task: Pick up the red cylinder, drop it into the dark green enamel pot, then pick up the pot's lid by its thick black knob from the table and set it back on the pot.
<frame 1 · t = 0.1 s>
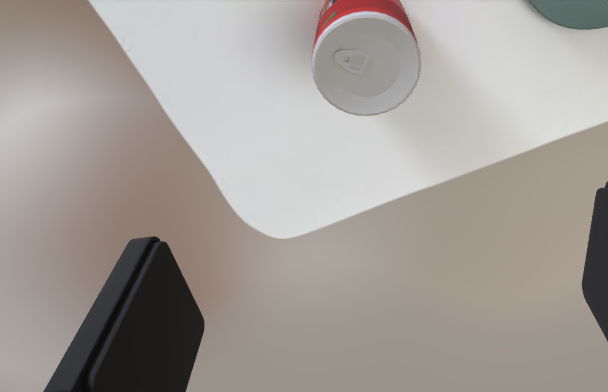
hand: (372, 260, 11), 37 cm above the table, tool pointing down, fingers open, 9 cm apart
canned food: (362, 24, 44), on the table
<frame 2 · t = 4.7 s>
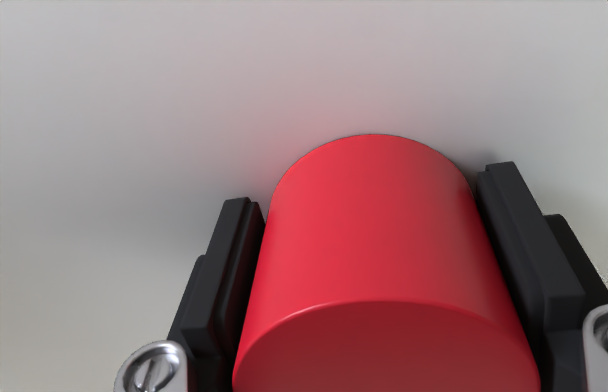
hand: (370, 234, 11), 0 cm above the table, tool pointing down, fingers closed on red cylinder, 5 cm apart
red cylinder: (369, 223, 12), on the table, touching gripper
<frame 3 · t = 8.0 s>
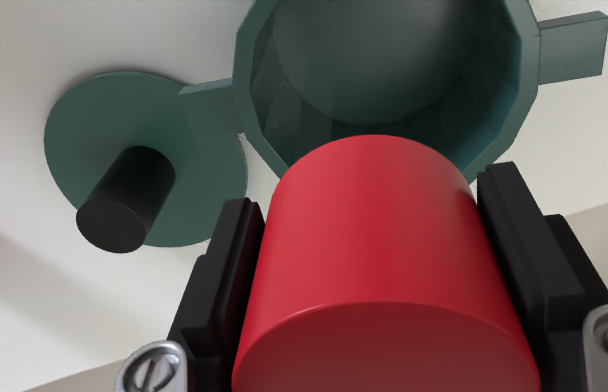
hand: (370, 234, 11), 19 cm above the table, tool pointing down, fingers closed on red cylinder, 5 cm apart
lid: (149, 166, 33), point 1 cm above the table
red cylinder: (369, 223, 12), point 18 cm above the table, touching gripper
pot: (371, 32, 27), on the table
when the fingers open (7 cm above the table, at t = 11.9 s): red cylinder stays where it is, resting on pot.
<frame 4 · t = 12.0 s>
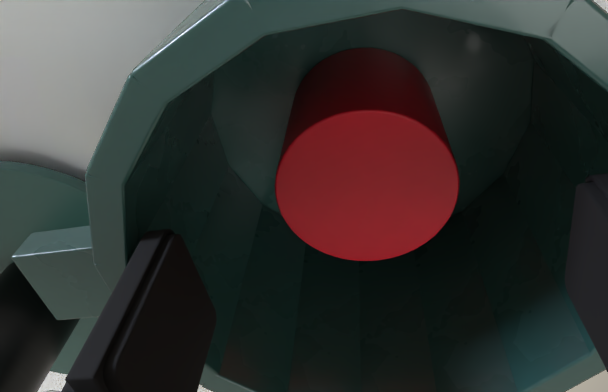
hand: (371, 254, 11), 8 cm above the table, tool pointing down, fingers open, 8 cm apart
lid: (52, 281, 23), point 1 cm above the table
red cylinder: (362, 117, 17), resting on pot
pot: (366, 111, 17), on the table
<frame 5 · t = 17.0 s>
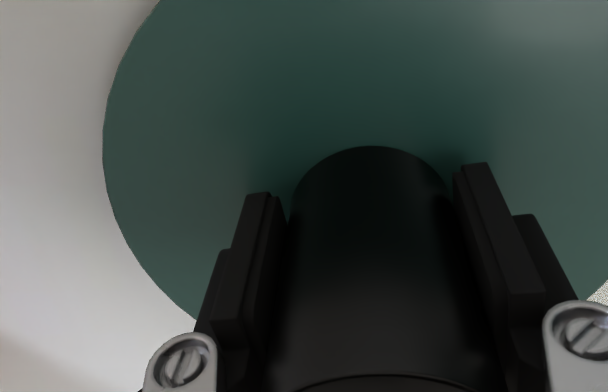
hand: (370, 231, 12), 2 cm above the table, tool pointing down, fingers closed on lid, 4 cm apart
lid: (368, 200, 13), point 1 cm above the table, touching gripper
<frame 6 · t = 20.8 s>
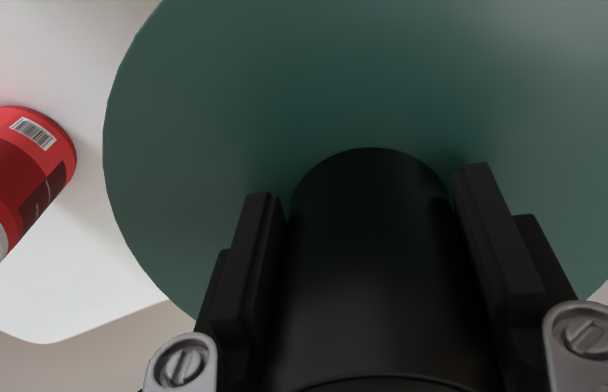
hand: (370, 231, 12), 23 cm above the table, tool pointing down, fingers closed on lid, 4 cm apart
canned food: (32, 144, 39), on the table
lid: (367, 201, 13), point 22 cm above the table, touching gripper
when the fingers open (10 cm above the table, at t = 25.1 s): lid stays where it is, resting on pot.
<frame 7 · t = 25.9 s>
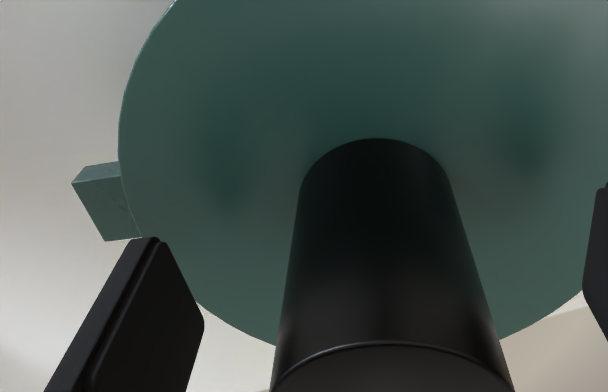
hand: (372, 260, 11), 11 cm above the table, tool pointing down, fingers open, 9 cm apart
lid: (372, 191, 13), point 8 cm above the table, touching pot
pot: (363, 75, 20), on the table
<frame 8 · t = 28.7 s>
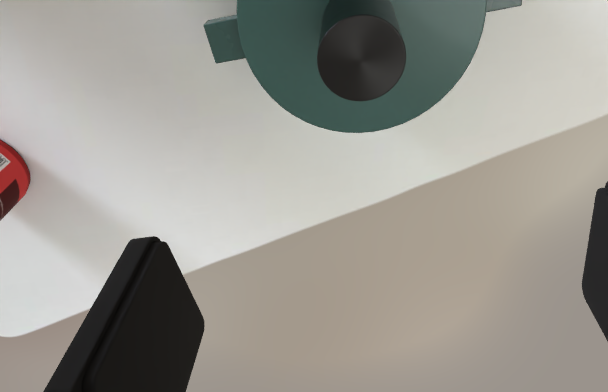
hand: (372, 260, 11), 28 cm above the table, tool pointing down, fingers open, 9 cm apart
lid: (358, 20, 27), point 8 cm above the table, touching pot
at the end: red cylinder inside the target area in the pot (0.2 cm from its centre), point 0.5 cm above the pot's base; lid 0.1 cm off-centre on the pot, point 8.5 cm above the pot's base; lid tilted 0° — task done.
